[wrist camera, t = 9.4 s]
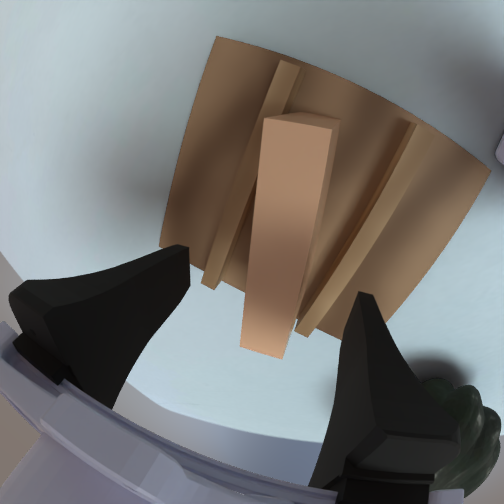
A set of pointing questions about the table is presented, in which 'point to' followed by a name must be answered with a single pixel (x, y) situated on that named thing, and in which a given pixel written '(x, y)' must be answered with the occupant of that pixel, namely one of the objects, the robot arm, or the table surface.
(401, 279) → the ribbed wooden panel
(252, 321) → the clay block
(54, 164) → the table surface
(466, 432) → the squash
